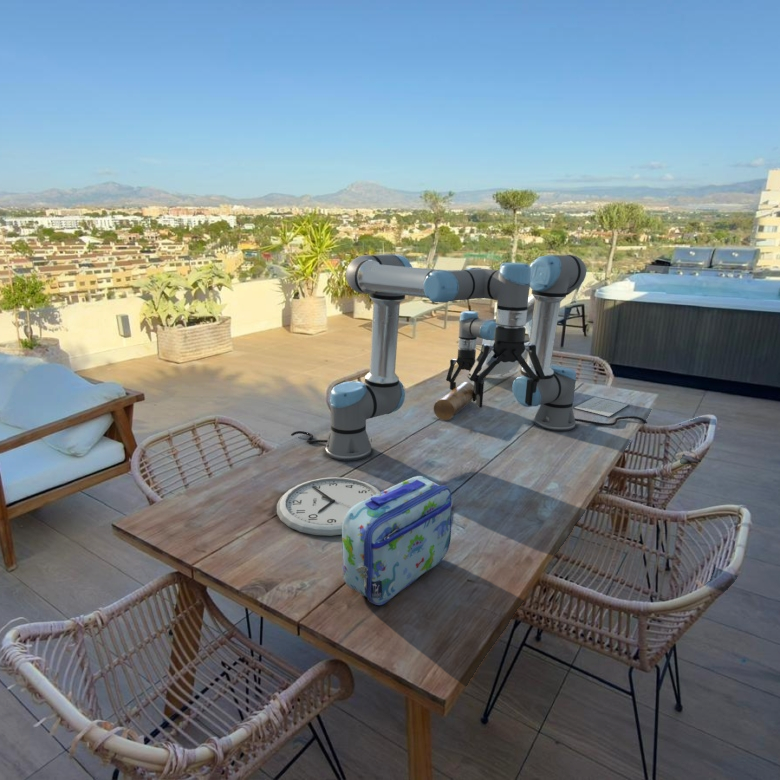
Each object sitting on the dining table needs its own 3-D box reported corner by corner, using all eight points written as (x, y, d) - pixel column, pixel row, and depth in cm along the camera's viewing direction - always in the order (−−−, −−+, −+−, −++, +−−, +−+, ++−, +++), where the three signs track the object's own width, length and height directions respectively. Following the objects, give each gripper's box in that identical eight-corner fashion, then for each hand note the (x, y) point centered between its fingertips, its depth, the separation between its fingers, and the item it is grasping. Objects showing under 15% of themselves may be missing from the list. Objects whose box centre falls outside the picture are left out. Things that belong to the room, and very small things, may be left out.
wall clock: (392, 527, 129) (268, 531, 127) (391, 533, 130) (269, 537, 127) (383, 473, 158) (282, 475, 155) (383, 478, 158) (282, 480, 156)
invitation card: (608, 416, 214) (573, 407, 224) (608, 416, 214) (573, 408, 224) (628, 404, 229) (594, 396, 238) (628, 405, 229) (594, 397, 238)
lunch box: (371, 618, 102) (371, 524, 95) (336, 591, 109) (334, 502, 103) (455, 562, 119) (460, 479, 113) (420, 542, 126) (423, 463, 120)
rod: (456, 399, 233) (457, 380, 230) (475, 402, 229) (476, 383, 227) (433, 418, 210) (434, 397, 207) (453, 422, 206) (454, 401, 203)
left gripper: (467, 329, 127) (462, 411, 133) (563, 328, 130) (554, 408, 137) (458, 323, 134) (454, 401, 140) (550, 322, 138) (542, 399, 144)
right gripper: (439, 346, 222) (437, 397, 229) (489, 353, 213) (485, 405, 220) (446, 343, 229) (443, 392, 236) (494, 349, 219) (490, 400, 226)
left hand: (503, 405), depth 139 cm, fingers open, 13 cm apart
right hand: (463, 398), depth 228 cm, fingers open, 9 cm apart
